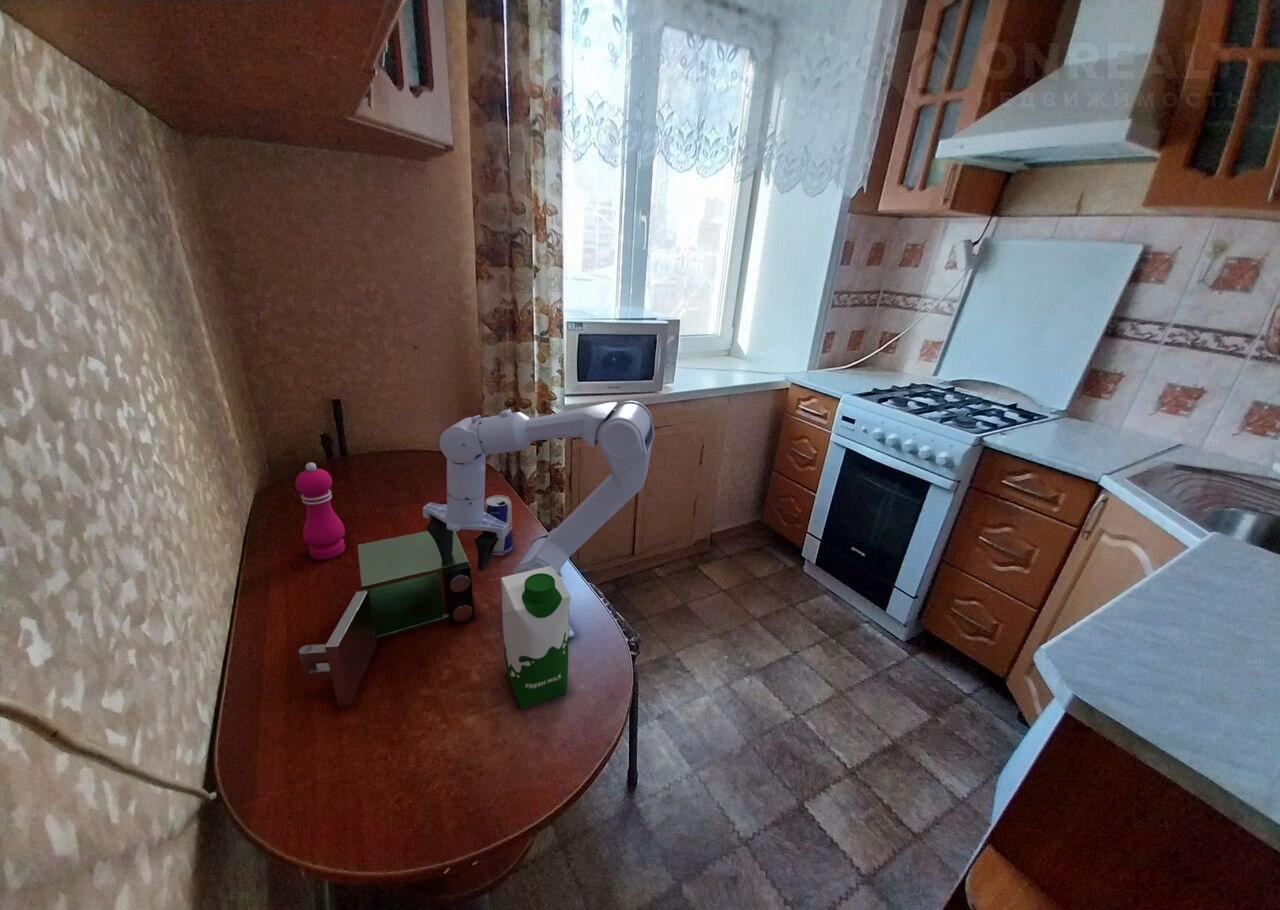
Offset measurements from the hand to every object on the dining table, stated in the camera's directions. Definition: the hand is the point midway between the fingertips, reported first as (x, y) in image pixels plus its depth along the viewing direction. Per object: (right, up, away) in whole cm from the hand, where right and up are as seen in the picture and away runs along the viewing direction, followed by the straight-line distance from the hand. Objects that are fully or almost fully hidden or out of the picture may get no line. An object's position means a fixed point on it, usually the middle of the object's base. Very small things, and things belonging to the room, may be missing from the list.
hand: (464, 562), depth 85 cm
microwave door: (-15, -15, -10) cm, 23 cm away
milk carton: (+14, -17, -10) cm, 24 cm away
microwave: (-10, -9, +4) cm, 14 cm away
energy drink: (0, -2, +23) cm, 23 cm away
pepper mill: (-35, -2, +18) cm, 40 cm away
